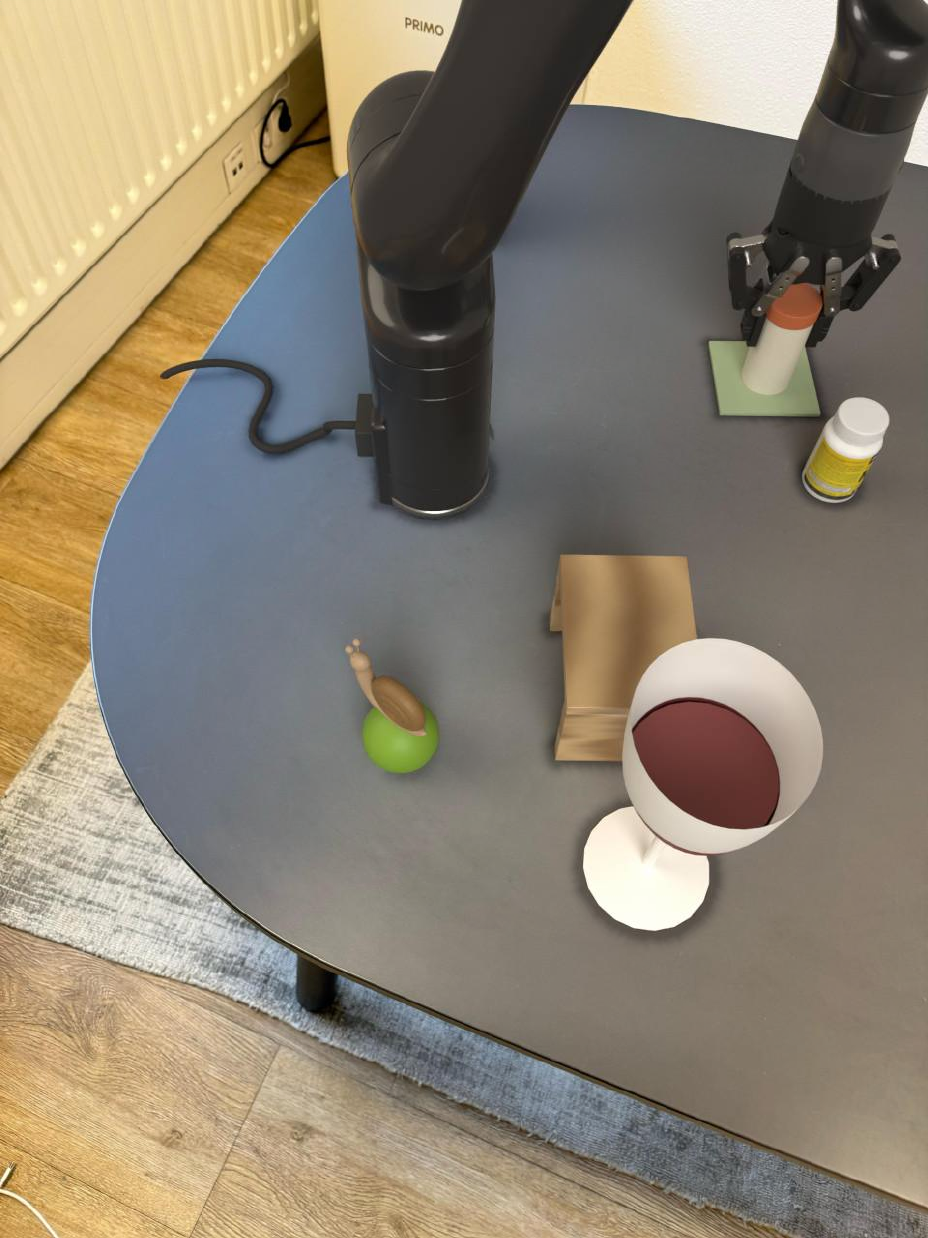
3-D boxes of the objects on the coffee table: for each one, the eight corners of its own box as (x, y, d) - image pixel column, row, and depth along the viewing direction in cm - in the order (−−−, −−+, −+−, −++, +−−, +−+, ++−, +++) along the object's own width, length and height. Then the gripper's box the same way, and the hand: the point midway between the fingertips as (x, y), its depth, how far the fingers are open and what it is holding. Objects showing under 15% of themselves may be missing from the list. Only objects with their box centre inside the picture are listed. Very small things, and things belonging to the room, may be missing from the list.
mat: (719, 415, 87) (720, 412, 87) (708, 343, 92) (709, 340, 91) (819, 416, 87) (820, 413, 87) (802, 344, 92) (804, 341, 91)
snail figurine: (389, 694, 73) (377, 612, 63) (454, 744, 71) (454, 669, 61) (339, 746, 71) (319, 670, 60) (406, 799, 69) (396, 730, 58)
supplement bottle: (856, 508, 82) (895, 443, 75) (800, 499, 82) (833, 433, 75) (856, 465, 84) (894, 397, 77) (801, 456, 85) (833, 388, 78)
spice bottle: (743, 395, 88) (771, 317, 80) (736, 358, 90) (763, 279, 82) (793, 396, 88) (827, 318, 80) (786, 359, 90) (817, 280, 82)
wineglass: (700, 794, 69) (798, 635, 49) (724, 938, 64) (844, 826, 44) (573, 798, 69) (619, 640, 49) (586, 943, 64) (645, 832, 44)
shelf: (554, 760, 70) (567, 707, 63) (549, 618, 76) (560, 553, 69) (678, 762, 70) (706, 709, 63) (663, 620, 76) (687, 555, 69)
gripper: (931, 133, 72) (851, 311, 87) (739, 131, 73) (692, 309, 87) (955, 197, 69) (868, 373, 83) (753, 195, 69) (702, 370, 83)
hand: (778, 339), depth 85 cm, fingers closed on spice bottle, 4 cm apart
